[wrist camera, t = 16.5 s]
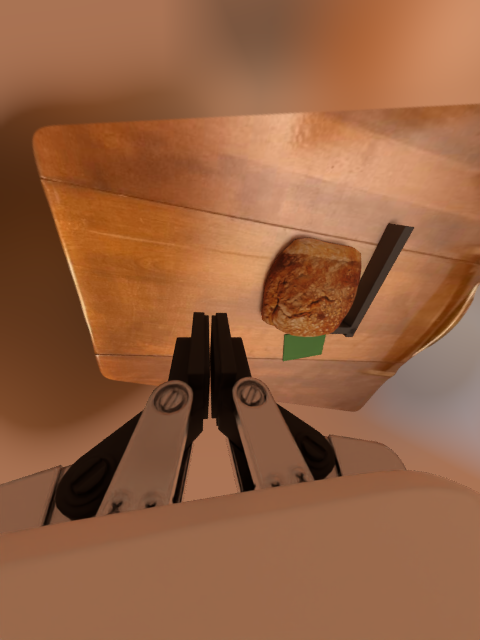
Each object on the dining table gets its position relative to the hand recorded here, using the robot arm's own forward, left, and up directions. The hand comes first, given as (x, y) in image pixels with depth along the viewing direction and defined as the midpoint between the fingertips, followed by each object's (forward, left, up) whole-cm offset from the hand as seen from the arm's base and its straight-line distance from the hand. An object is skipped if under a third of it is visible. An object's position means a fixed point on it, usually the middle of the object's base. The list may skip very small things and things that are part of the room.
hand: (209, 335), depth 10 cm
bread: (+7, +23, -29) cm, 38 cm away
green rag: (+26, +28, -29) cm, 48 cm away
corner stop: (+7, +29, -29) cm, 42 cm away
